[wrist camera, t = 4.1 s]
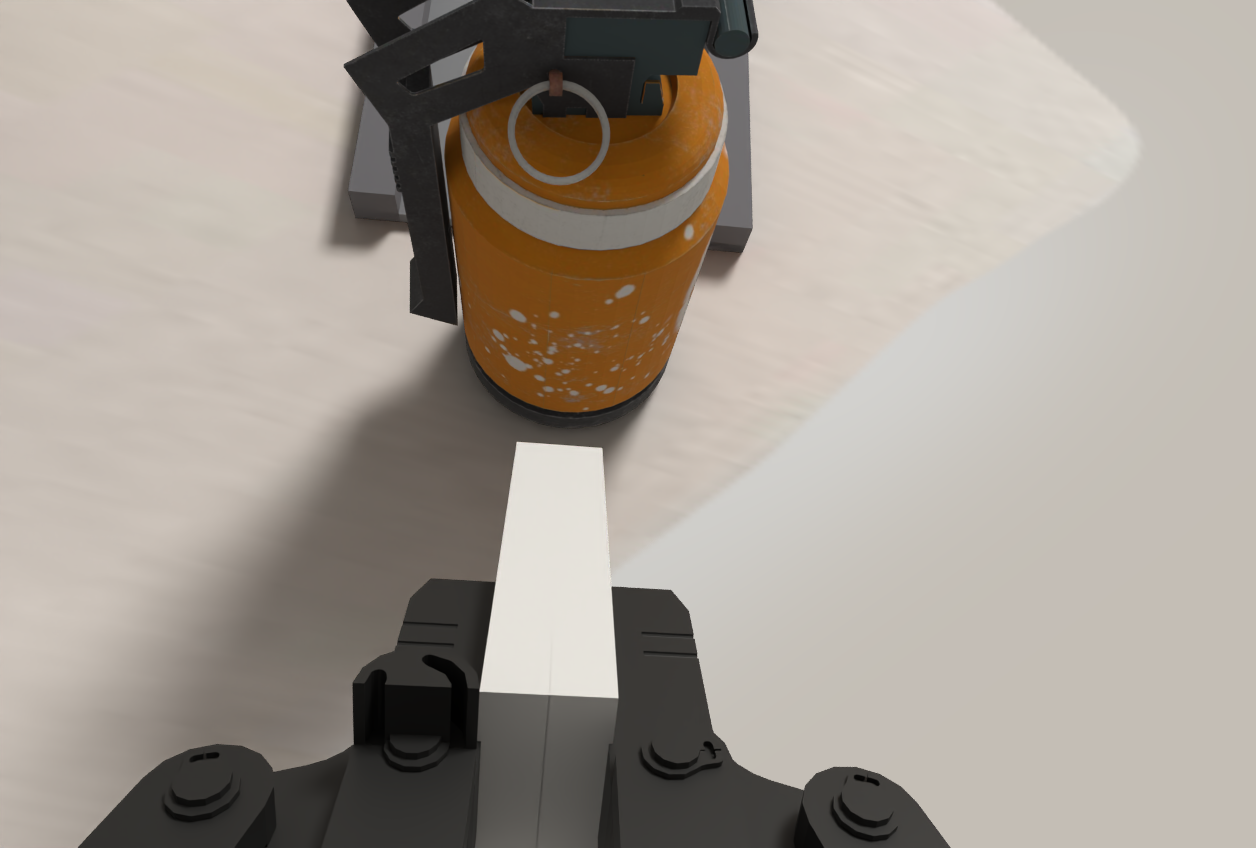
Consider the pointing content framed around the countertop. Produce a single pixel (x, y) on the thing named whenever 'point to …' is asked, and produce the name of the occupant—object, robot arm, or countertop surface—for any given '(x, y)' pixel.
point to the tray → (372, 161)
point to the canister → (559, 183)
